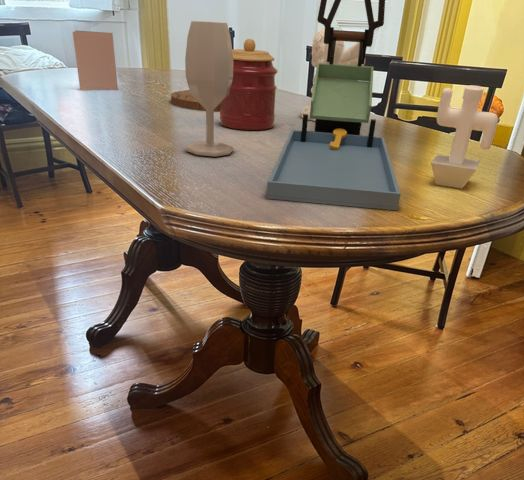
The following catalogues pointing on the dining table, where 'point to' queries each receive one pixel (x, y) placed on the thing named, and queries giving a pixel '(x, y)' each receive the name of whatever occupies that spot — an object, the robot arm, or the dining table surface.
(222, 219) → the dining table surface
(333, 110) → the green dustpan
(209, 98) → the wineglass
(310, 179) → the tray
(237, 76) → the kitchen canister
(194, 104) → the trivet
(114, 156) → the dining table surface
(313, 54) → the cherub figurine
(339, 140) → the key
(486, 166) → the dining table surface
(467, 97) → the figurine
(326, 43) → the robot arm
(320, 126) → the stand
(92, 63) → the greeting card
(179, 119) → the dining table surface
